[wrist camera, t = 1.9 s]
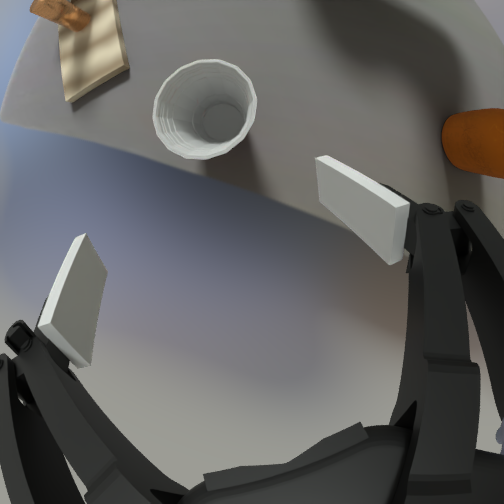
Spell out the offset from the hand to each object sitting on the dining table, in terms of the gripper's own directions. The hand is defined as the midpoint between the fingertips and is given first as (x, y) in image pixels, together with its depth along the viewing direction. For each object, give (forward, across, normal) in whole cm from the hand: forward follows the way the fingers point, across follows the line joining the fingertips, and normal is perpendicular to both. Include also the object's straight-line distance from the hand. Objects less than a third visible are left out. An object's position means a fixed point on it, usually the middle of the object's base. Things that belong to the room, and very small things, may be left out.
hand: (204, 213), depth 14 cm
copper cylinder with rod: (+38, -12, +34) cm, 53 cm away
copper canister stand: (+39, -11, +28) cm, 49 cm away
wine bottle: (+14, +41, -5) cm, 44 cm away
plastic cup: (+26, +6, +1) cm, 26 cm away
